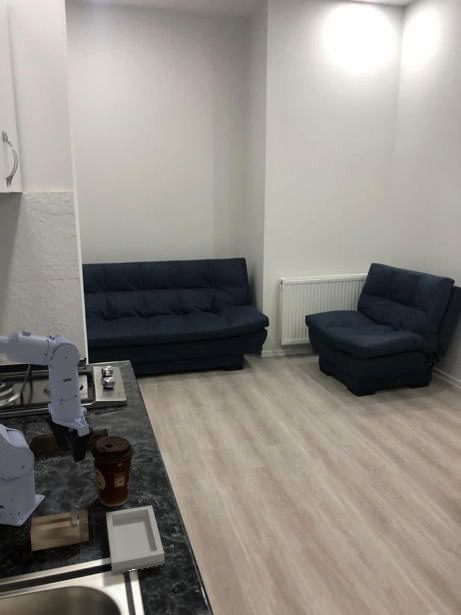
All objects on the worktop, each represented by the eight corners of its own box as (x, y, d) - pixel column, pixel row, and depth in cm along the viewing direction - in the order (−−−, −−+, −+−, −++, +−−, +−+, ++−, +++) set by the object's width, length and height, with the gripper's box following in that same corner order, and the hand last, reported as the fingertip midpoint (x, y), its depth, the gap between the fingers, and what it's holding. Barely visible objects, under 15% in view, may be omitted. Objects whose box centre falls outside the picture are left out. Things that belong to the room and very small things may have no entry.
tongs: (88, 526, 99) (87, 507, 98) (88, 541, 95) (87, 521, 94) (33, 535, 96) (31, 515, 95) (31, 551, 92) (30, 530, 91)
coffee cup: (92, 512, 103) (90, 455, 100) (92, 489, 111) (89, 435, 107) (135, 506, 105) (134, 450, 102) (132, 484, 113) (131, 431, 110)
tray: (164, 564, 90) (164, 553, 89) (112, 575, 87) (111, 563, 86) (151, 515, 103) (151, 505, 102) (106, 523, 100) (106, 512, 99)
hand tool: (108, 439, 132) (107, 423, 131) (109, 447, 128) (108, 430, 127) (30, 448, 127) (29, 431, 126) (29, 457, 123) (28, 439, 122)
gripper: (100, 399, 102) (105, 459, 105) (67, 378, 112) (72, 433, 116) (67, 411, 97) (73, 473, 101) (36, 388, 107) (42, 445, 111)
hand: (71, 453), depth 108 cm, fingers open, 7 cm apart
